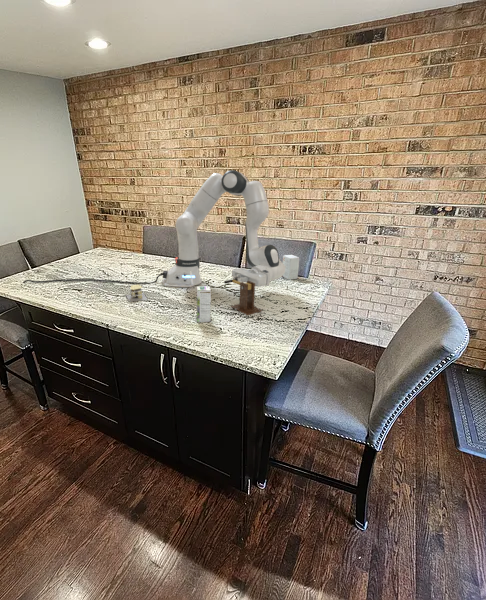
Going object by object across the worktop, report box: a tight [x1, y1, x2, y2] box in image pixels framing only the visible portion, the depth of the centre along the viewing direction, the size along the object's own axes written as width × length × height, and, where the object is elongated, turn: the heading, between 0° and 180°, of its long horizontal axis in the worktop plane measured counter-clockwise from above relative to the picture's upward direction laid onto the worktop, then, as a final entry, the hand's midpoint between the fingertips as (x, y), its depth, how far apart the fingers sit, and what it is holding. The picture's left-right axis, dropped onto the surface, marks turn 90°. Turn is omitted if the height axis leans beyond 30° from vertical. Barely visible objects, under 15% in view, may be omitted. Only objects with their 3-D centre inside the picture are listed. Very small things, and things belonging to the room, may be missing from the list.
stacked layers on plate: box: [126, 284, 148, 303], centre depth 171 cm, size 10×9×6 cm
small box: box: [281, 254, 300, 281], centre depth 200 cm, size 8×6×13 cm
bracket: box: [230, 280, 263, 316], centre depth 152 cm, size 12×9×14 cm
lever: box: [223, 278, 251, 290], centre depth 154 cm, size 13×9×2 cm
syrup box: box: [196, 285, 212, 323], centre depth 144 cm, size 6×6×14 cm
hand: (235, 279), depth 160 cm, fingers closed on lever
